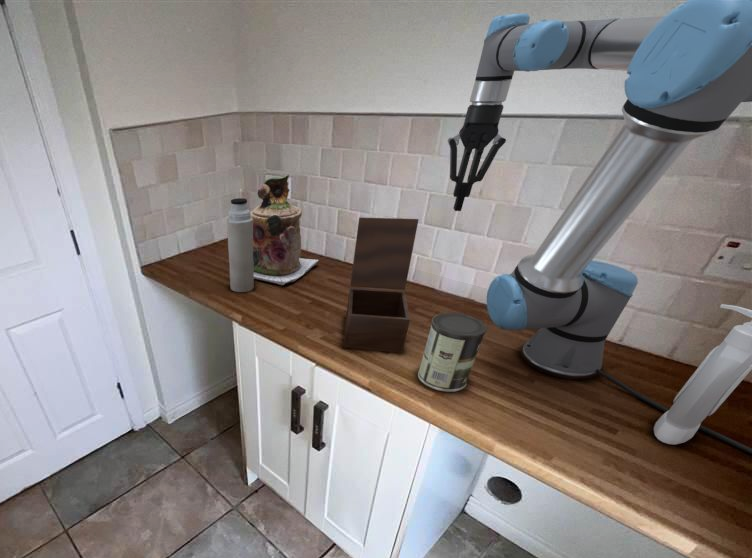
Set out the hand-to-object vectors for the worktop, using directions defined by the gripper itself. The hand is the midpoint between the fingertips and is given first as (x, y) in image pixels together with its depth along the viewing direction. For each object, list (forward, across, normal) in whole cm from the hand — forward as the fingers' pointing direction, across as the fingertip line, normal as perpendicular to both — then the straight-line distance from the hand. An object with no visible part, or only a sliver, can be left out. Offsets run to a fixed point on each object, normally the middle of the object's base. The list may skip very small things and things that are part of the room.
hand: (457, 209), depth 109 cm
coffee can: (+26, +3, +44) cm, 51 cm away
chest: (+26, +18, +26) cm, 41 cm away
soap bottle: (+26, -35, +52) cm, 68 cm away
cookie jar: (+27, +52, -17) cm, 61 cm away
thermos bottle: (+27, +61, +1) cm, 66 cm away
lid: (+8, +18, +16) cm, 26 cm away
